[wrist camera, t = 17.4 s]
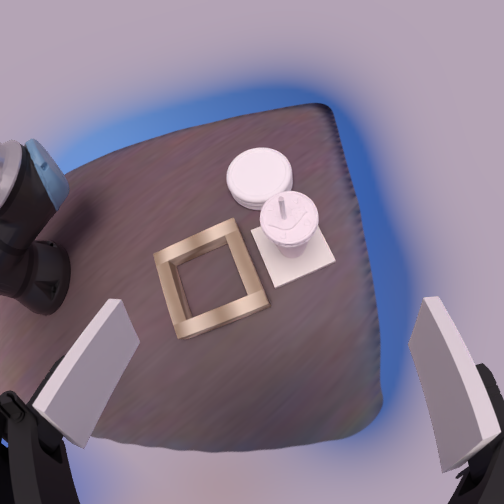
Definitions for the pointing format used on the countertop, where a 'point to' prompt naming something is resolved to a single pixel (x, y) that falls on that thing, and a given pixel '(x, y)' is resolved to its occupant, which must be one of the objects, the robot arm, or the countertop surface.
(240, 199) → the coaster
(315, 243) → the tile
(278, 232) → the smoothie
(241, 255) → the square wooden frame
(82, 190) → the countertop surface
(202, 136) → the countertop surface
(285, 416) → the countertop surface
